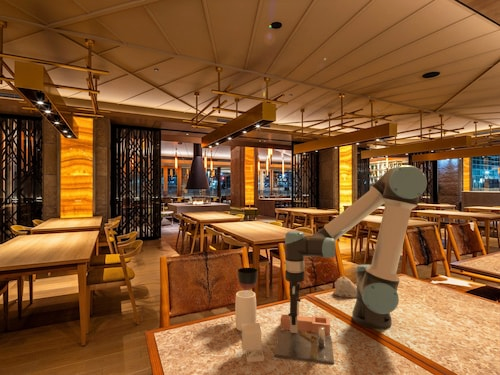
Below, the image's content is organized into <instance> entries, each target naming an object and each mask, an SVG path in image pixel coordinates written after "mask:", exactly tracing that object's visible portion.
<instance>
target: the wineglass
mask: <svg viewBox="0 0 500 375" xmlns="http://www.w3.org/2000/svg"><path fill="white" fill-rule="evenodd" d="M237 278H238V283H239V286H240V288H242V289H244V290H248V291H251V290H252V289H253V288H255V287H256V285H257V280H258V269H257V268H254V267H241V268H239V269H238V270H237Z"/></svg>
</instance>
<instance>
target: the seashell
mask: <svg viewBox="0 0 500 375" xmlns="http://www.w3.org/2000/svg"><path fill="white" fill-rule="evenodd" d="M334 288H335V290H334V292H333V295H335V296H336V297H340V298H341V297H342V298H354V299H355V298H356V299H357V290H356V284H355V283H354V282H352V281H351V280H350V278H348V277H346V276H345V275H343V276H341V277H339V278H337V279H336V281H335V282H334Z"/></svg>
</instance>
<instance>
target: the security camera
mask: <svg viewBox="0 0 500 375" xmlns="http://www.w3.org/2000/svg"><path fill="white" fill-rule="evenodd" d="M240 332H241V334H240V335H241V337H240V338H241V339H240V340H241V349H242V352H245V356H246V362H248V363H251V362H264V360H265V356H264V353H263V352H264V351H263V348H262V328H261V324H260V322H256V323H248V324H241V331H240Z"/></svg>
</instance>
